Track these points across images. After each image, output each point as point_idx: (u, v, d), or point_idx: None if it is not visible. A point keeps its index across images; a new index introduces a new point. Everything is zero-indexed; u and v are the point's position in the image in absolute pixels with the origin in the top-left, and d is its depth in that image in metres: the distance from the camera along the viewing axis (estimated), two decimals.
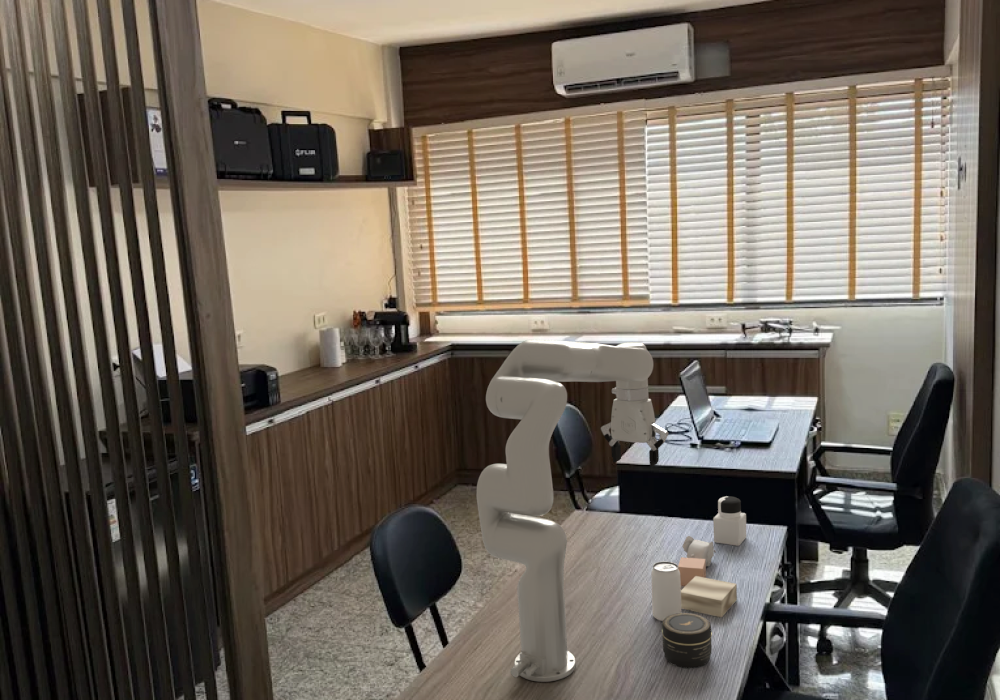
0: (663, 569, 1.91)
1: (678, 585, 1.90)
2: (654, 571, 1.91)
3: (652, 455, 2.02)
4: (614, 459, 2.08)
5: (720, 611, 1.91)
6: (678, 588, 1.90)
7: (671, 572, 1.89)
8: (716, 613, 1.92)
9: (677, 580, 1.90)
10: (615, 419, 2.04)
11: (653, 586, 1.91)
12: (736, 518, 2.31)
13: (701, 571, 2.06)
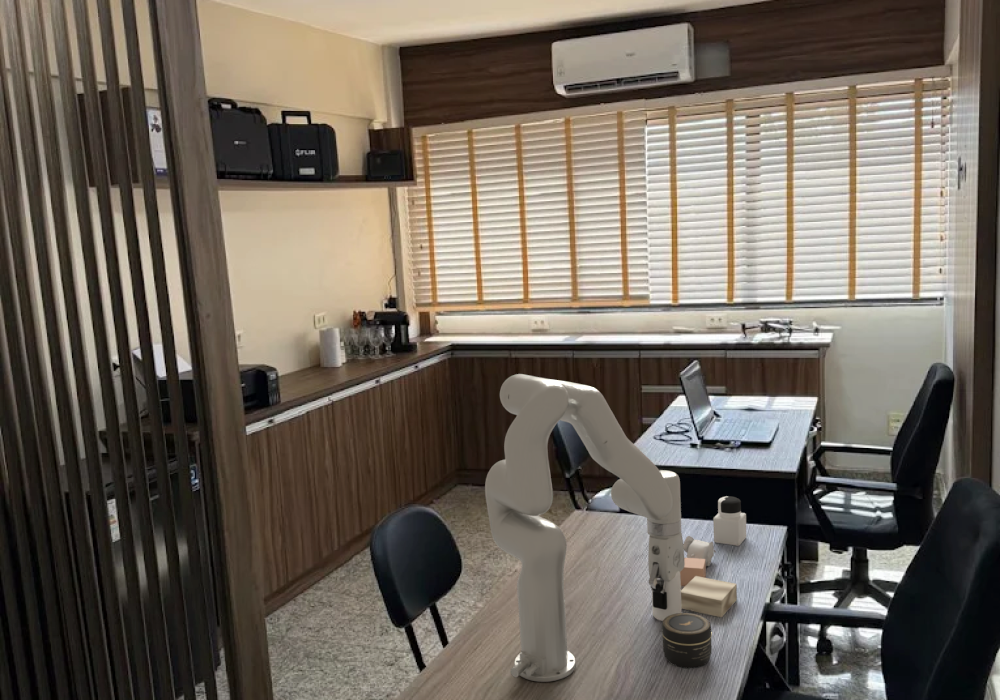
0: None
1: (678, 585, 1.90)
2: None
3: None
4: (666, 606, 1.89)
5: (720, 611, 1.91)
6: (678, 588, 1.90)
7: None
8: (716, 613, 1.92)
9: (678, 580, 1.90)
10: (669, 559, 1.87)
11: None
12: (736, 518, 2.31)
13: (701, 571, 2.06)
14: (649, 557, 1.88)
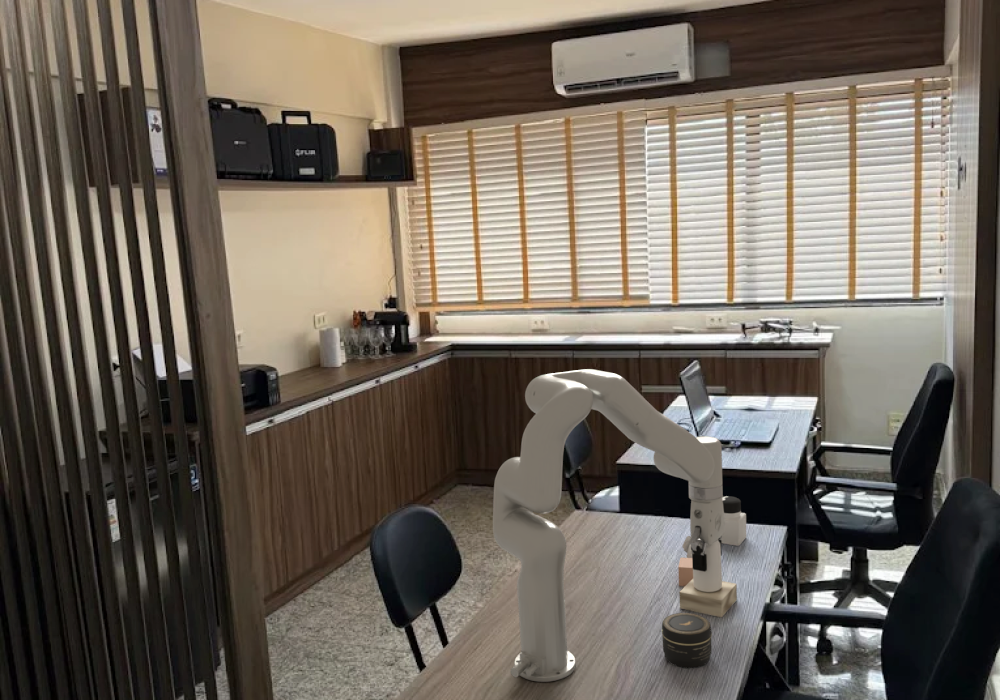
0: None
1: (719, 556, 1.94)
2: None
3: None
4: (706, 568, 1.92)
5: (720, 611, 1.91)
6: (719, 559, 1.94)
7: None
8: (716, 613, 1.92)
9: (718, 551, 1.94)
10: (711, 522, 1.90)
11: None
12: (736, 518, 2.31)
13: None
14: (691, 521, 1.92)
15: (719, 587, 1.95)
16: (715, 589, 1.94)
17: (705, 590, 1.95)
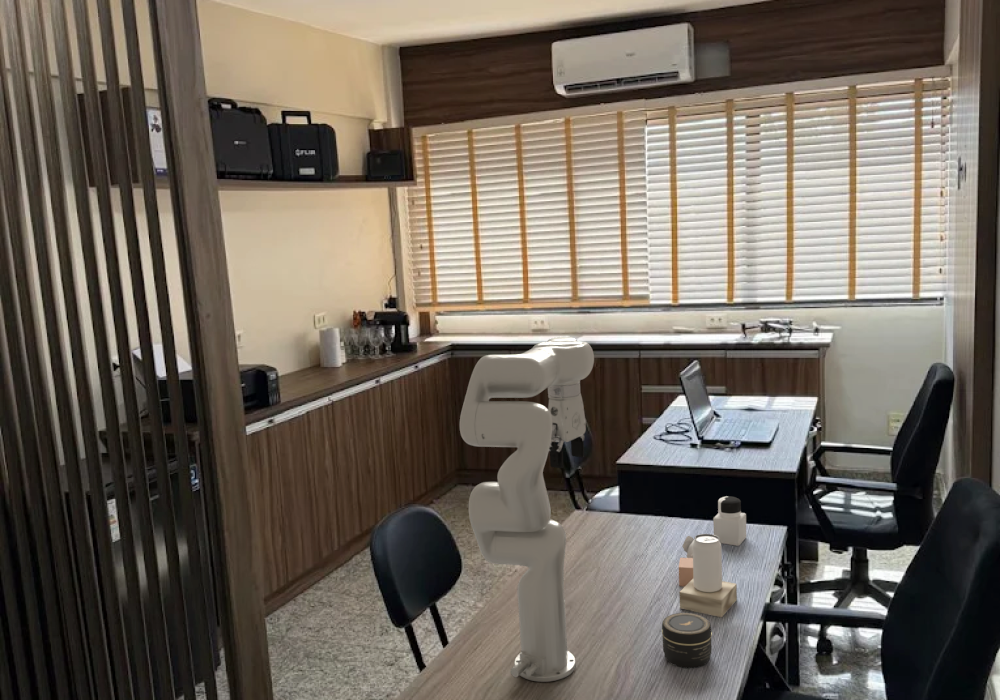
0: (704, 541, 1.95)
1: (719, 556, 1.94)
2: (695, 542, 1.95)
3: None
4: (563, 464, 1.95)
5: (720, 611, 1.91)
6: (719, 559, 1.94)
7: (713, 543, 1.93)
8: (716, 613, 1.92)
9: (719, 552, 1.94)
10: (567, 419, 1.94)
11: (694, 557, 1.95)
12: (736, 518, 2.31)
13: None
14: None
15: (719, 587, 1.95)
16: (715, 589, 1.94)
17: (705, 590, 1.95)
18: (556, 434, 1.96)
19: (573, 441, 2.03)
